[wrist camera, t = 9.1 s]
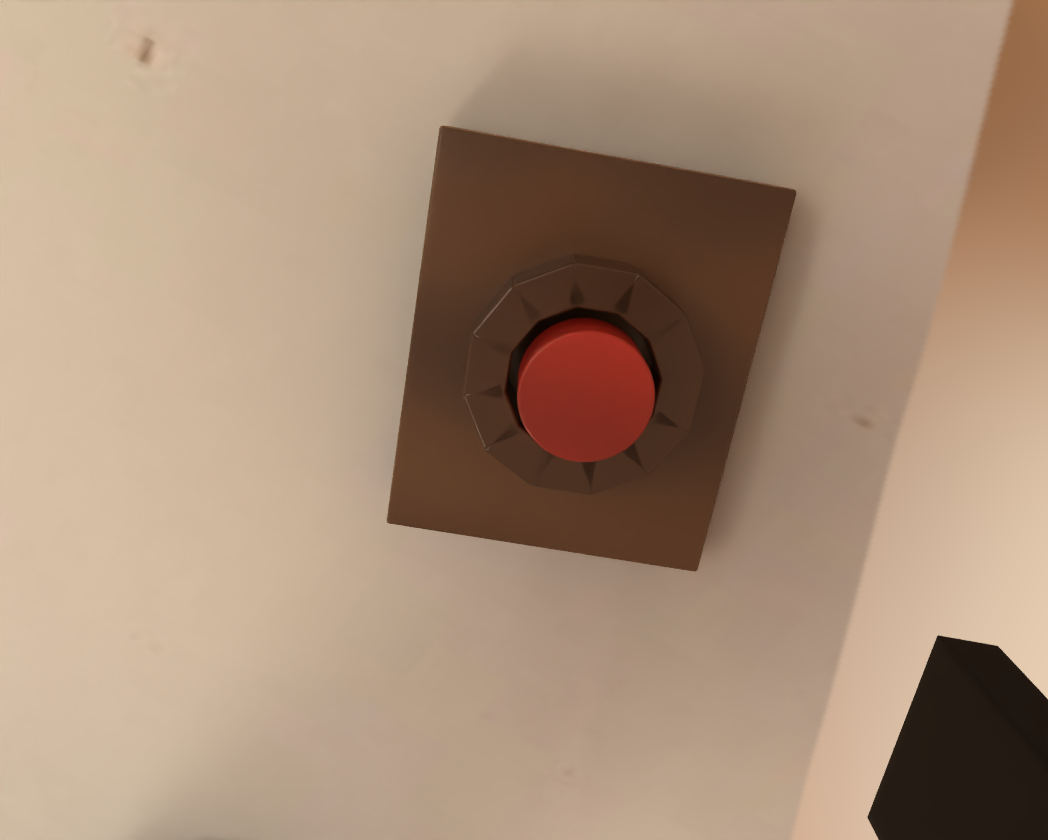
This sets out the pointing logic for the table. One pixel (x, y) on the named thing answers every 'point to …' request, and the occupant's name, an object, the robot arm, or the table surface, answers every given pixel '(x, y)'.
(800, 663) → the table surface
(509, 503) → the button block
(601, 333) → the button
